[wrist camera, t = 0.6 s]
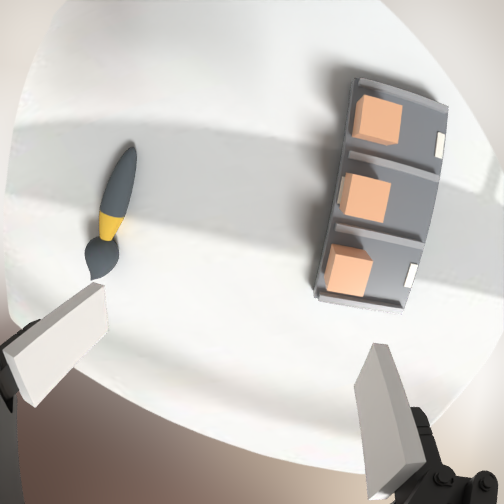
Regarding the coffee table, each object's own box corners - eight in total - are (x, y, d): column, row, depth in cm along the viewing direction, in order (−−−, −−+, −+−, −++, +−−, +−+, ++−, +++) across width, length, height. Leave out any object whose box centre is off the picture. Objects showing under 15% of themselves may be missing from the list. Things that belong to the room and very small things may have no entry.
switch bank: (351, 82, 29) (356, 75, 26) (441, 110, 27) (452, 107, 25) (313, 290, 37) (314, 301, 34) (398, 305, 36) (405, 315, 33)
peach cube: (345, 172, 30) (352, 173, 26) (380, 180, 29) (391, 183, 26) (339, 208, 31) (344, 214, 27) (373, 215, 31) (382, 223, 27)
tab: (356, 102, 27) (364, 94, 24) (390, 111, 27) (402, 105, 23) (351, 136, 29) (359, 133, 25) (386, 145, 28) (397, 143, 24)
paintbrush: (116, 142, 35) (94, 141, 30) (145, 149, 35) (125, 148, 30) (96, 271, 41) (76, 283, 37) (121, 283, 41) (103, 296, 36)
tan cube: (331, 243, 32) (336, 254, 29) (365, 250, 32) (373, 261, 28) (324, 276, 34) (326, 290, 30) (356, 282, 33) (362, 296, 29)
